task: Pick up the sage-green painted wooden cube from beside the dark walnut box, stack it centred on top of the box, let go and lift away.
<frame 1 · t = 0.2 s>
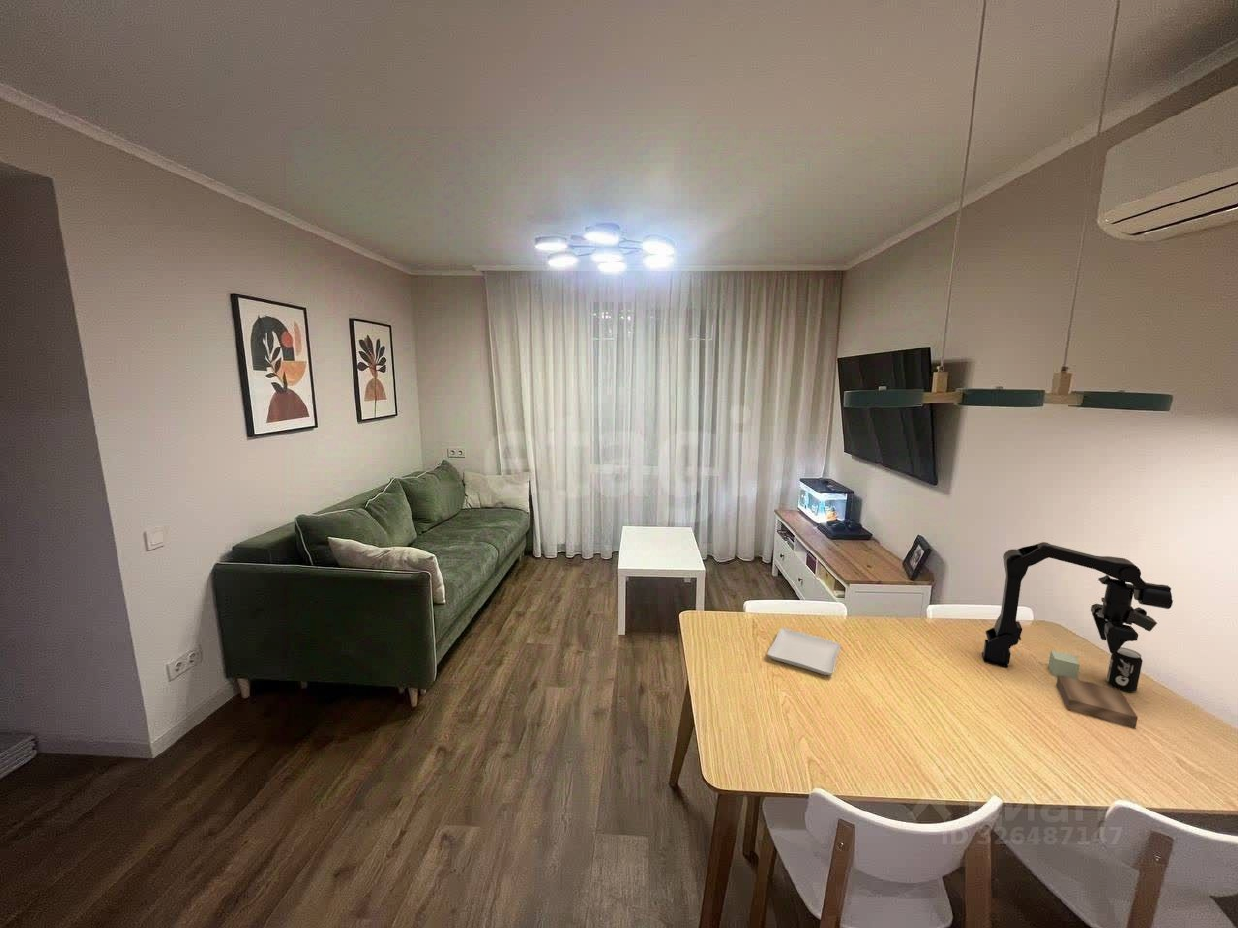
hand: (1107, 646, 146), 14 cm above the table, tool pointing down, fingers open, 9 cm apart
beverage can: (1120, 687, 148), on the table
sage cube: (1062, 673, 155), on the table
walnut box: (1092, 706, 139), on the table
salad plate: (804, 657, 165), on the table
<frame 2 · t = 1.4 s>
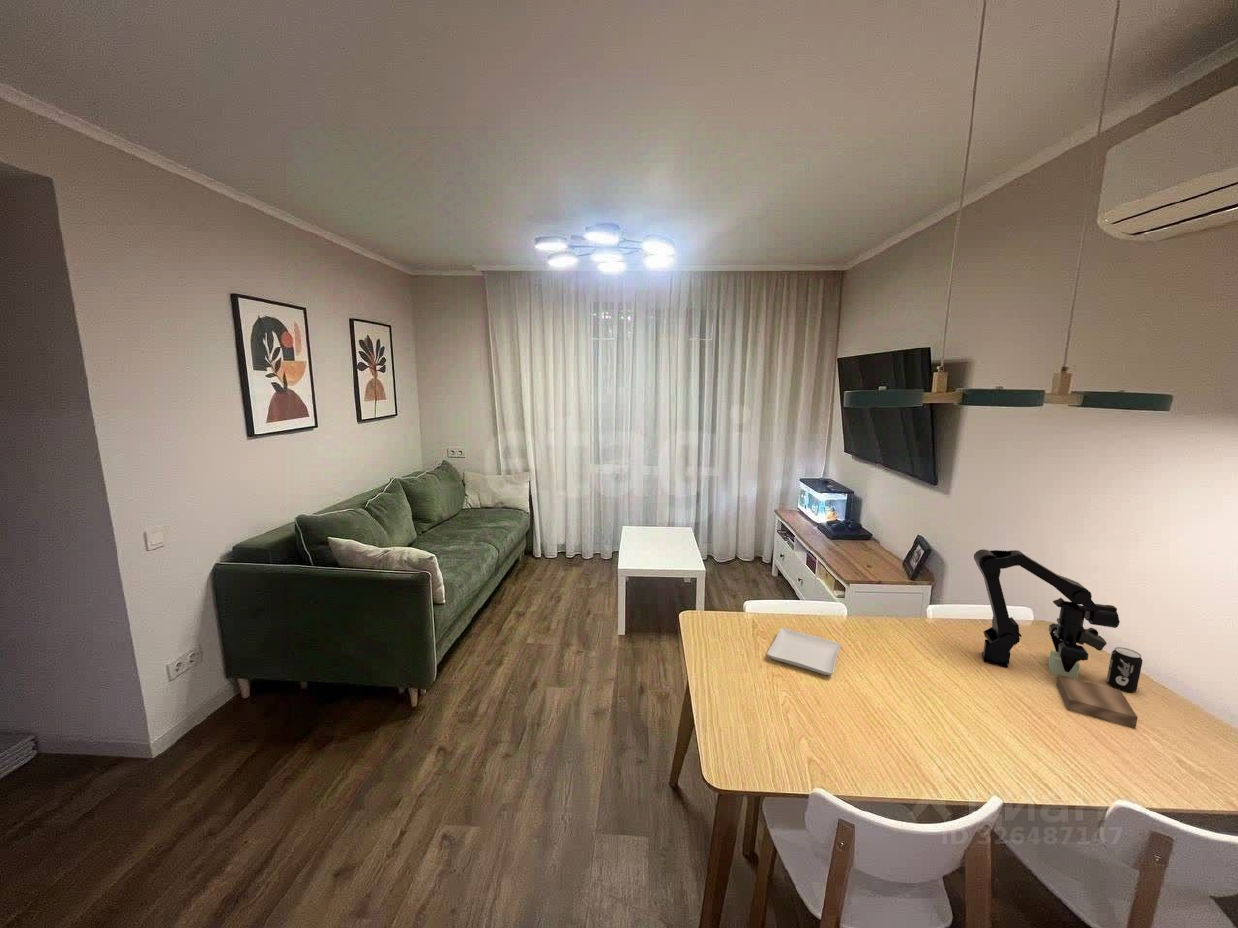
hand: (1063, 664, 154), 3 cm above the table, tool pointing down, fingers open, 9 cm apart
nothing on the table moved.
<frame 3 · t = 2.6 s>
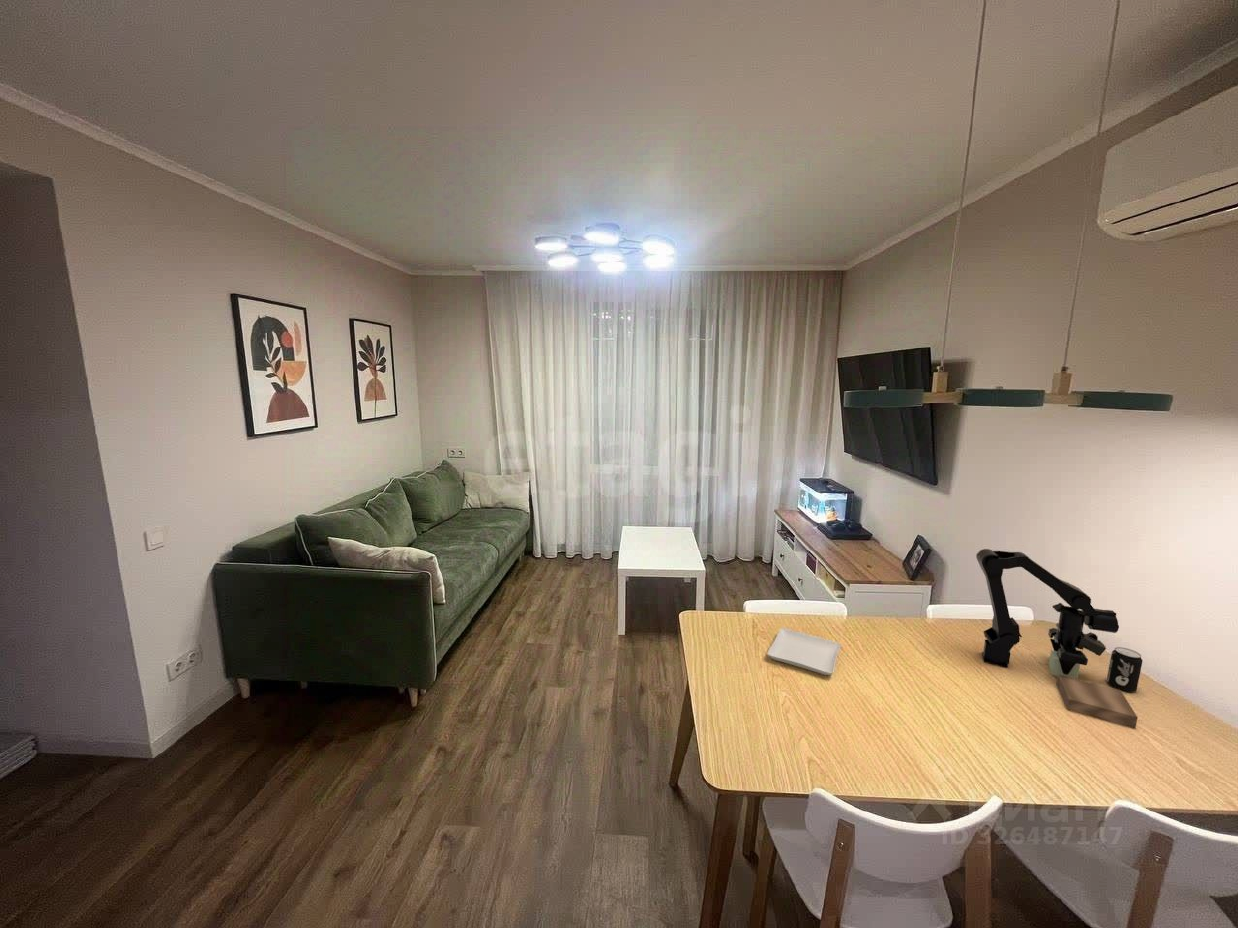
hand: (1063, 669, 154), 2 cm above the table, tool pointing down, fingers closed on sage cube, 6 cm apart
sage cube: (1062, 673, 155), on the table, touching gripper
everything else where it was.
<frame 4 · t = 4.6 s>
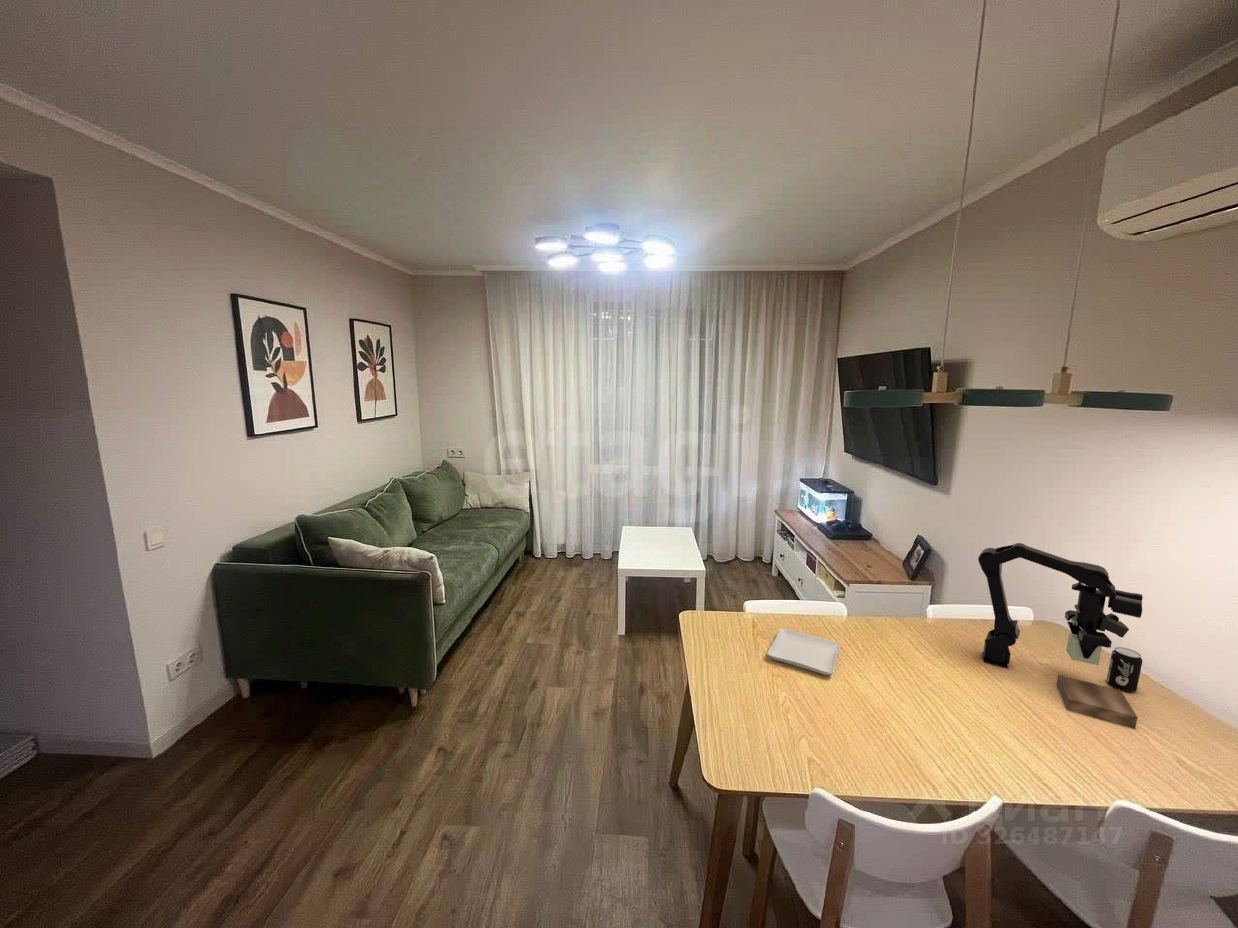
hand: (1082, 653, 146), 12 cm above the table, tool pointing down, fingers closed on sage cube, 6 cm apart
sage cube: (1082, 657, 146), point 10 cm above the table, touching gripper
everything else where it was.
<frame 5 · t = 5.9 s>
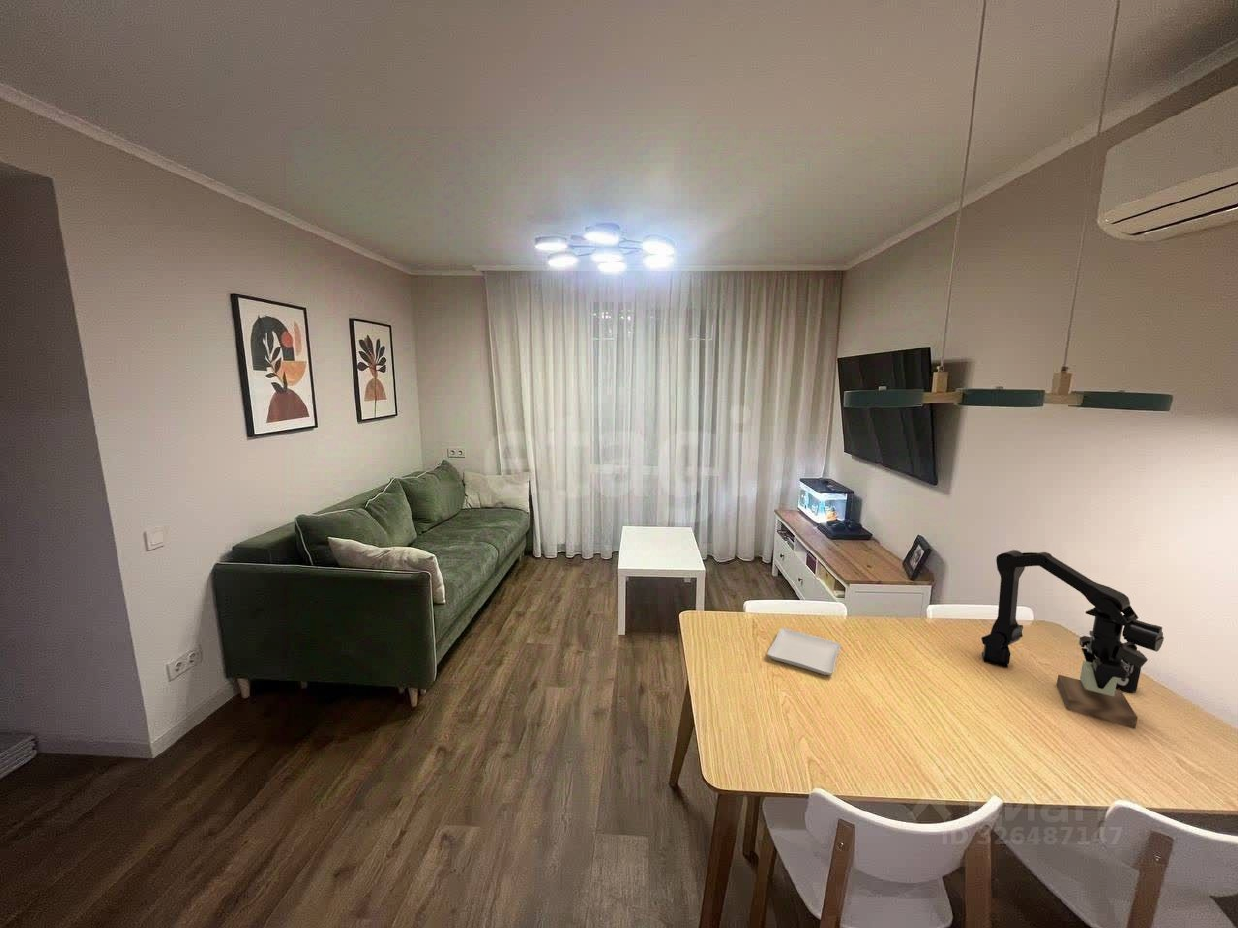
hand: (1097, 682, 138), 7 cm above the table, tool pointing down, fingers closed on sage cube, 6 cm apart
sage cube: (1096, 687, 138), point 6 cm above the table, touching gripper
everything else where it was.
when the fingers open (7 cm above the table, at t = 6.8 s): sage cube drops 2 cm, resting on walnut box.
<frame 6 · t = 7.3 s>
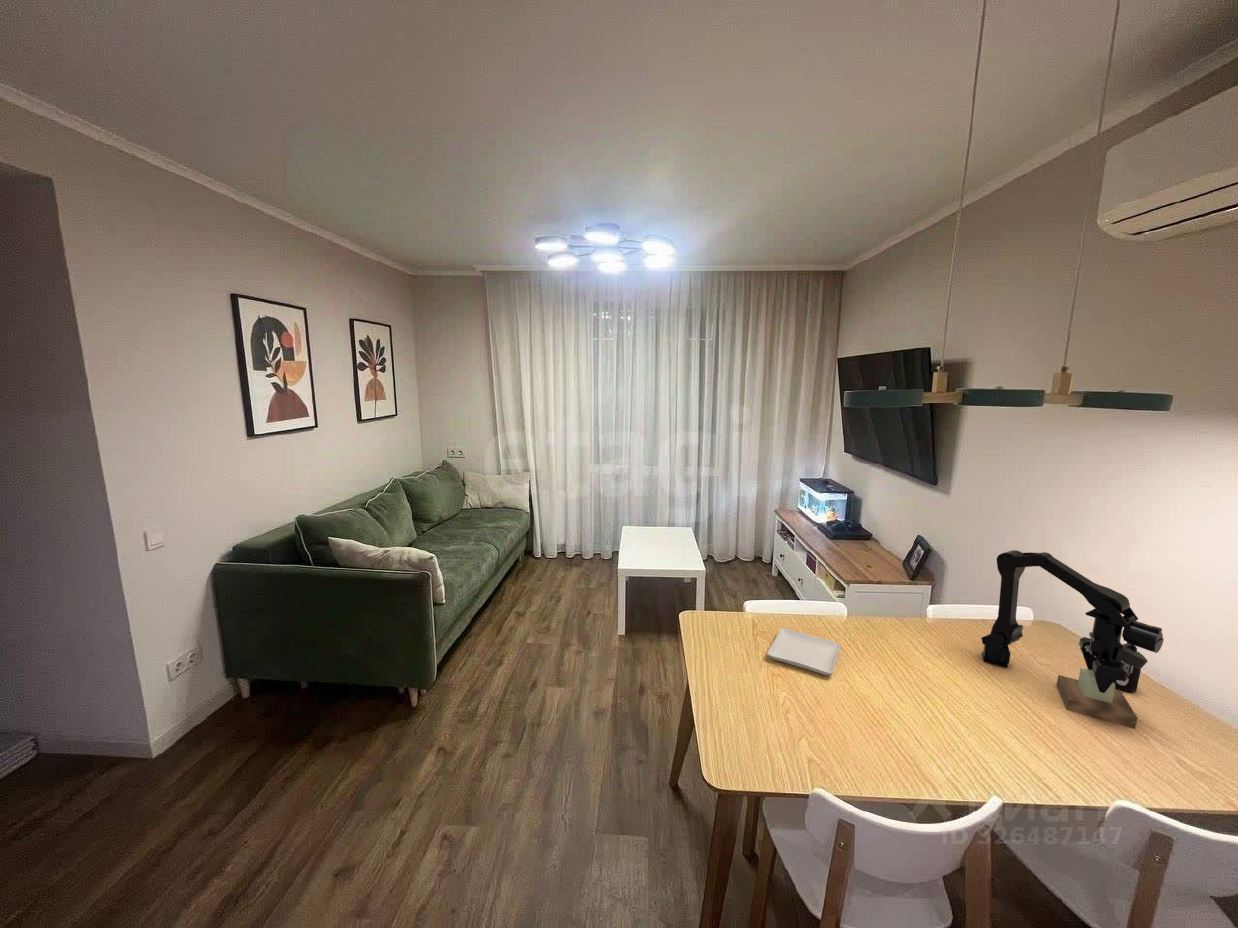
hand: (1097, 683, 138), 7 cm above the table, tool pointing down, fingers open, 9 cm apart
sage cube: (1094, 694, 139), point 3 cm above the table, touching walnut box
walnut box: (1092, 706, 139), on the table, touching sage cube
everything else where it was.
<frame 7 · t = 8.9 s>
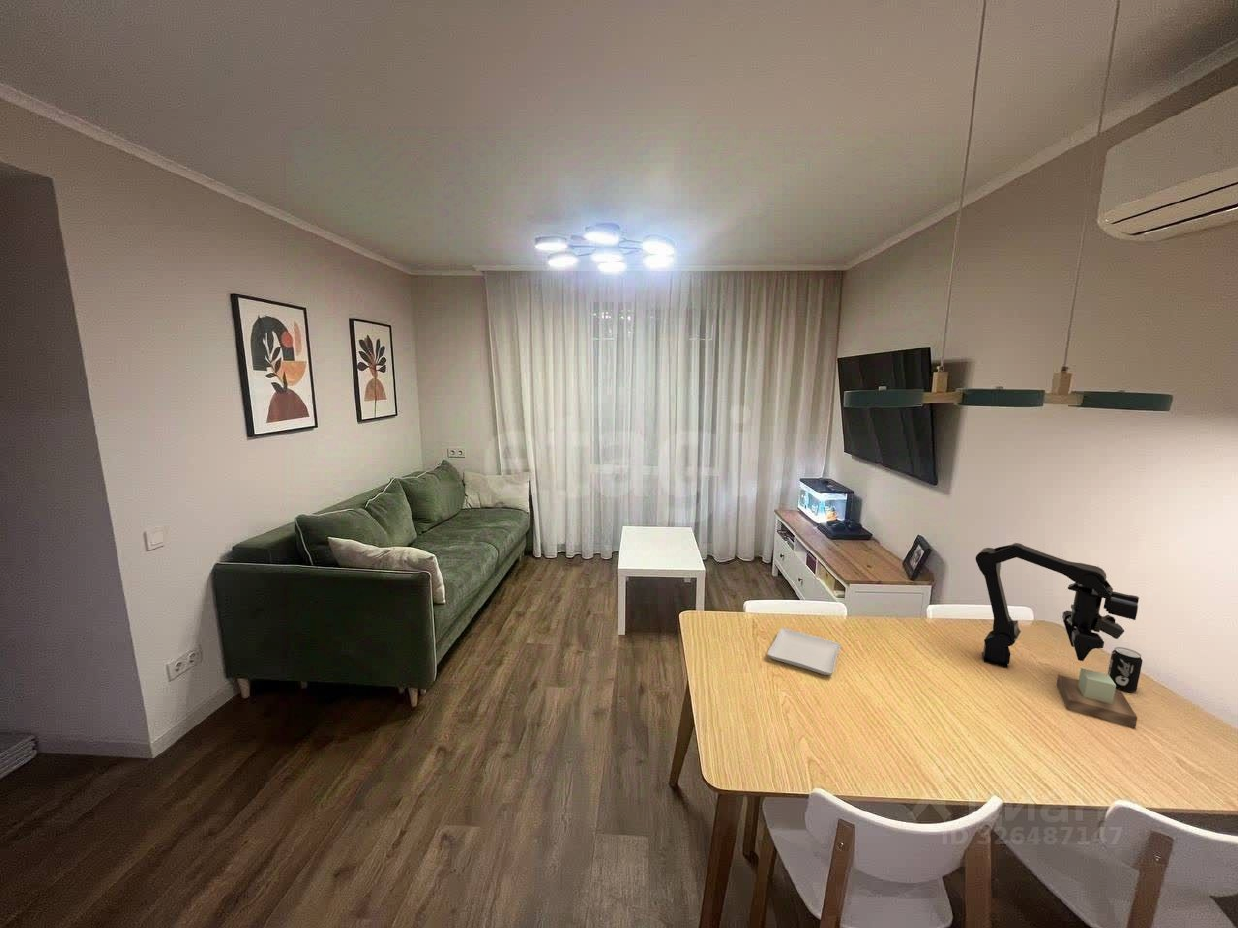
hand: (1076, 653, 146), 12 cm above the table, tool pointing down, fingers open, 9 cm apart
nothing on the table moved.
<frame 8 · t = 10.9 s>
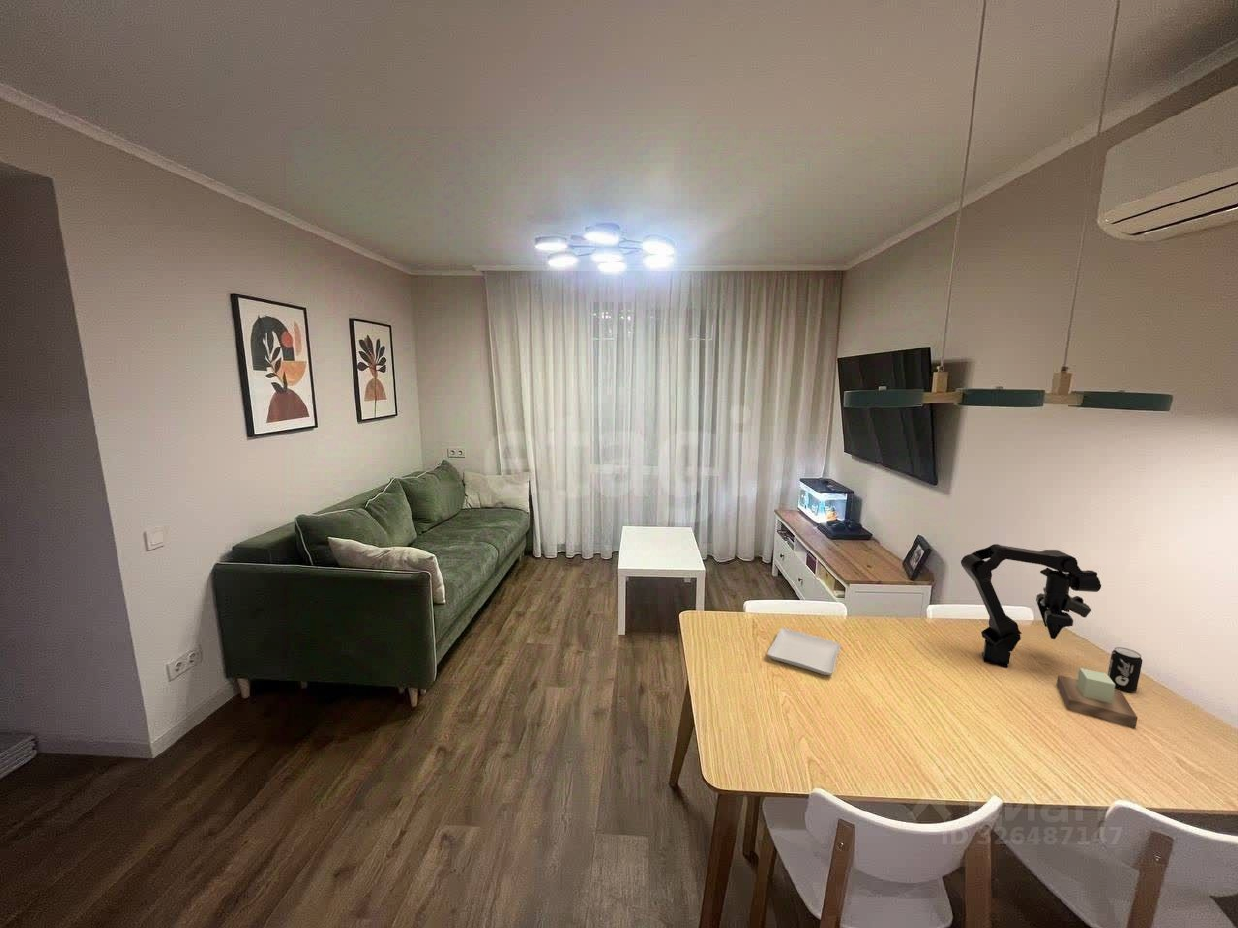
hand: (1049, 632, 157), 12 cm above the table, tool pointing down, fingers open, 9 cm apart
nothing on the table moved.
at the end: sage cube inside the target area on the walnut box (0.4 cm from its centre), point 4.0 cm above the walnut box's base; sage cube tilted 0°; the gripper is holding nothing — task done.
